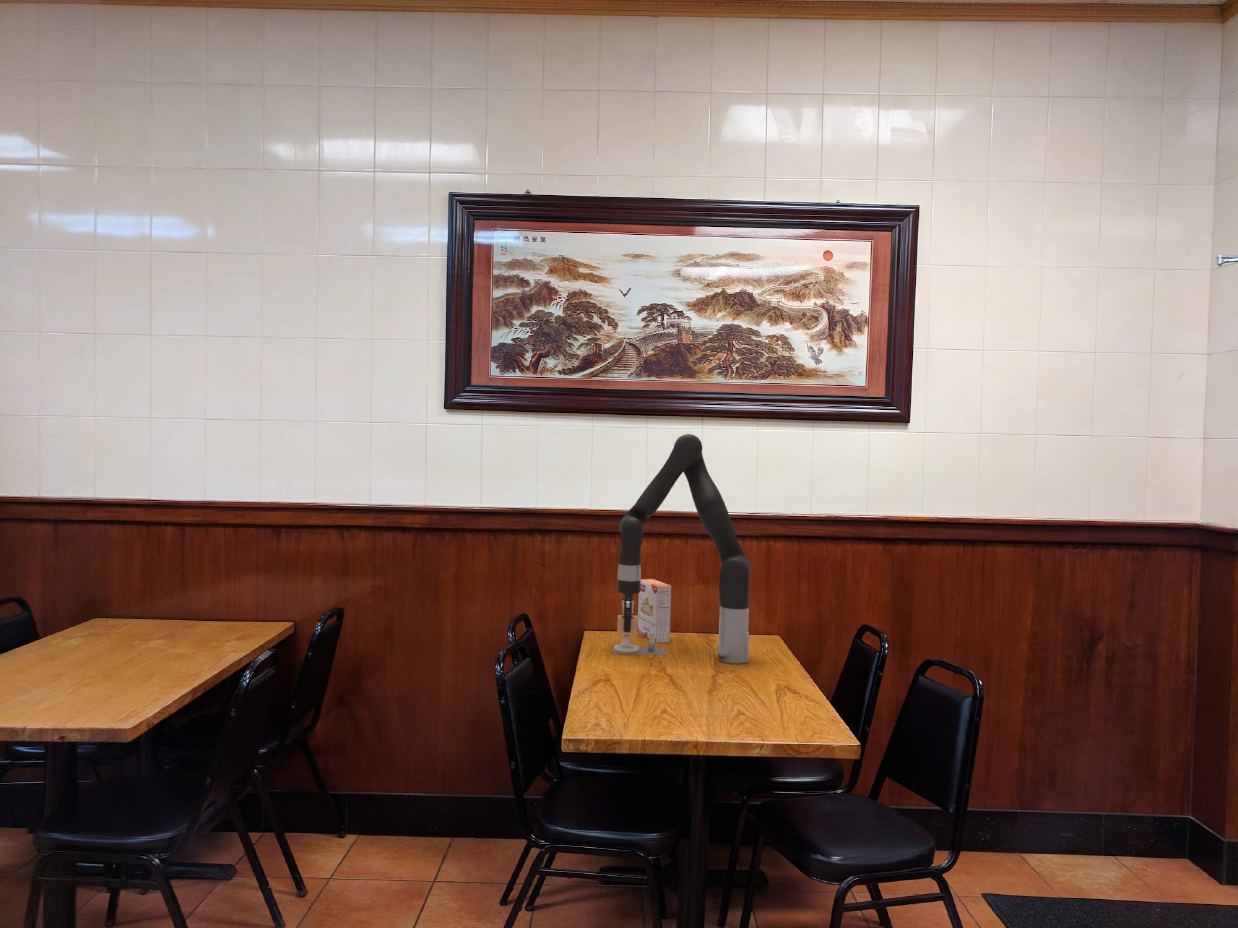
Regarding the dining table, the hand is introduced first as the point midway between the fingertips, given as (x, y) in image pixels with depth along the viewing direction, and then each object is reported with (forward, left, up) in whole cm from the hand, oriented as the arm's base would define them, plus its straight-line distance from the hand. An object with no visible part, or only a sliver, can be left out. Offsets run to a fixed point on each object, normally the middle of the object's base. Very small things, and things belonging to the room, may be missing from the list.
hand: (627, 629), depth 264 cm
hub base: (-4, 0, -8) cm, 9 cm away
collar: (0, 0, -1) cm, 1 cm away
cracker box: (-9, -19, -8) cm, 23 cm away
